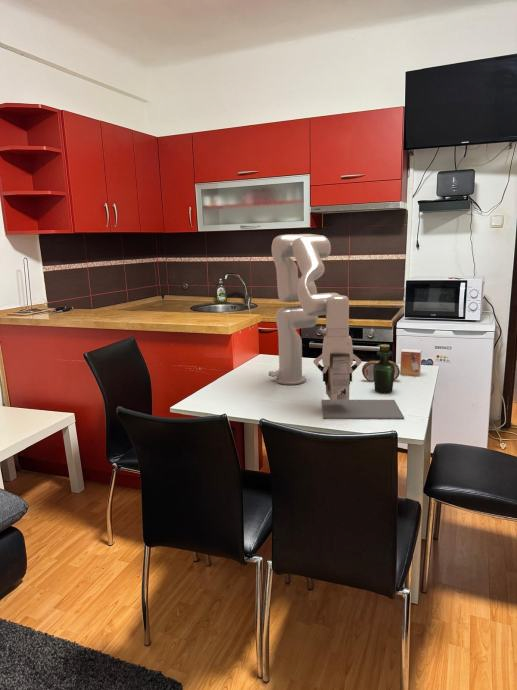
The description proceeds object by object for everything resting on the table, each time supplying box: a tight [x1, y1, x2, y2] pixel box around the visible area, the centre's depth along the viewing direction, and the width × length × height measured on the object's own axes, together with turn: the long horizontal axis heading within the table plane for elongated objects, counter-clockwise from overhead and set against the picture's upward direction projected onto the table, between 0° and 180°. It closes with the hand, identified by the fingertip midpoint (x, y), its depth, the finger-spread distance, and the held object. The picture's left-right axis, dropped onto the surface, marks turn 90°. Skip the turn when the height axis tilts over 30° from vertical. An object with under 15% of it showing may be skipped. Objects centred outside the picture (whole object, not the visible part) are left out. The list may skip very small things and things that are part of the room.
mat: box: [321, 399, 405, 420], centre depth 169 cm, size 26×18×1 cm
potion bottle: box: [373, 343, 395, 395], centre depth 187 cm, size 8×8×18 cm
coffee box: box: [325, 354, 350, 401], centre depth 167 cm, size 9×6×16 cm
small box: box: [399, 348, 422, 377], centre depth 209 cm, size 8×6×10 cm
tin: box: [361, 360, 400, 382], centre depth 201 cm, size 15×3×8 cm, turn 84°
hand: (337, 383), depth 168 cm, fingers closed on coffee box, 7 cm apart
